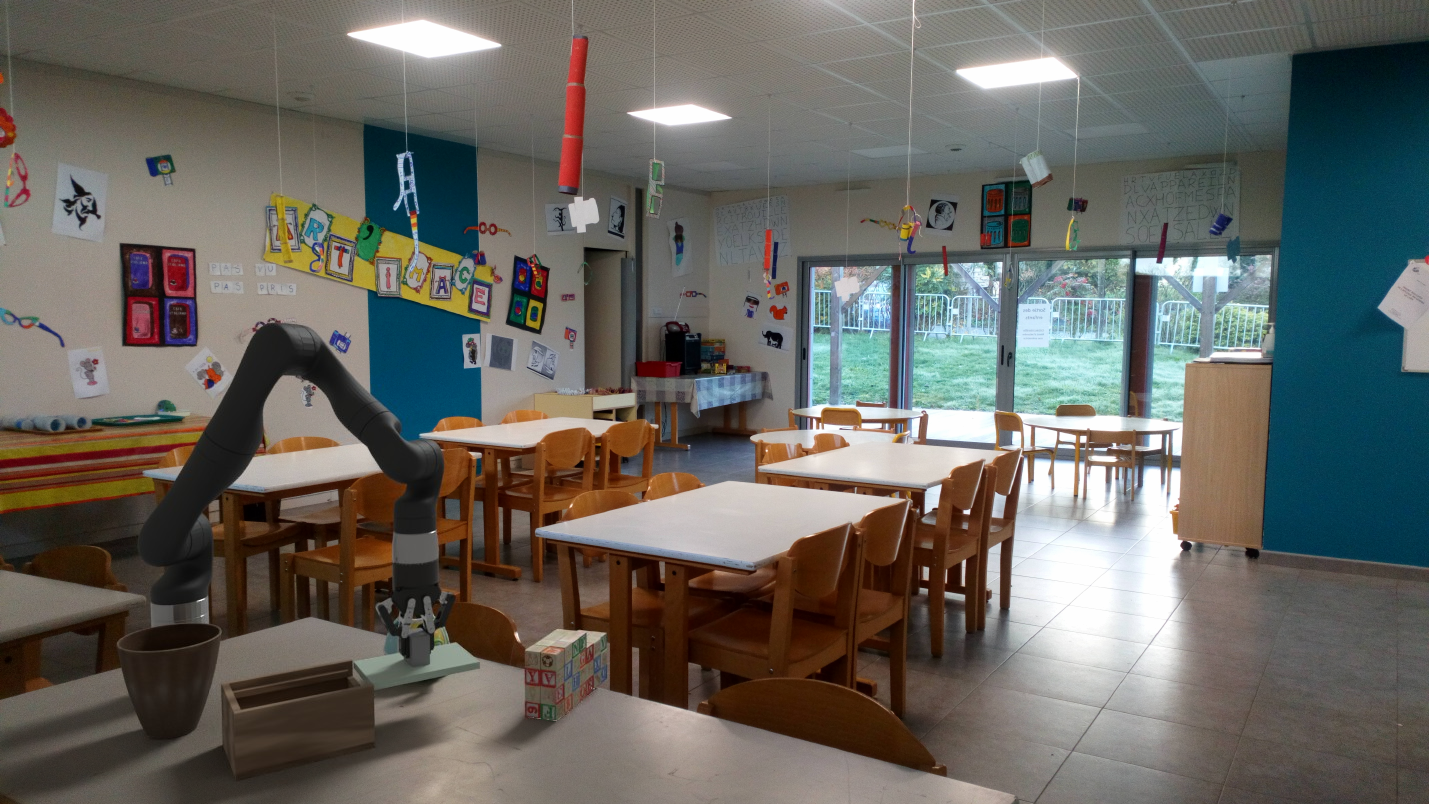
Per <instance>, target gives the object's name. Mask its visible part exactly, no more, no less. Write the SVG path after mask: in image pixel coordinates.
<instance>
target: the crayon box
mask: <svg viewBox="0 0 1429 804" xmlns="http://www.w3.org/2000/svg"><path fill="white" fill-rule="evenodd" d="M353 669H354V661H353V659H352V658H349V659H343V660H338V661H331V662H327V663H322V664H321V663H320V664H316V665H312V666H311V665H310V666H305V667H299V668H294V669H289V670H284V671H283V670H282V671H279V672H277V671H276V672H272V673H266V674H262V675H256V676H251V677H246V678H239V679H234V680H230V681H229V680H228V681H224V682H220V695H221V696H220V699H221V700H220V701H221V732H222V733H221V735H222V739H221V741H222V743H221V744H222V747H223V749H224V752H225V755H226V758H227V760H228V762H229V765H230V769H231V771H232V773H233V775H234V778H235V779H234V780H235V781H240V780H245V779H248V778H253V777H257V776H261V775H266V774H271V773H273V772H279V771H281V770H282V771H283V770H286V769H292V768H295V767H298V766H303V765H308V764H311V763H316V762H319V761H324V760H328V759H331V758H336V757H340V756H344V755H348V754H352V753H357V752H361V751H364V750H365V751H366V750H370V749H373V748H376V735H375V734H376V731H375V720H376V719H375V714H376V713H375V690H374V685H373V684H368V685H367V684H364V685H361V684H360V683H359V681H358V680H357V679H356V678H355V676H354V671H353Z"/></svg>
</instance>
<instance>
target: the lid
mask: <svg viewBox="0 0 1429 804" xmlns="http://www.w3.org/2000/svg"><path fill="white" fill-rule="evenodd" d="M408 637H410V658H407V659H405V658H404V657H403V656H402V655H401V654H400V653H396V654H390V655H385V654H384V655H380V656H375V657H370V658H365V659H358V660H354V661H353V669H354V671H356V673H357V674H358V676H359V677H361V679H362V681H364V683H365V685H368V684H373V685H374V691H378V690H382V689H387V688H391V687H397V686H402V685H405V684H411V683H417V682H420V681H424V680H431V679H436V678H440V677H445V676H450V675H455V674H459V673H465V672H470V671H474V670H479V669H481V661H480V660H478V659H477V658H476V657H475V656H473V655H472V653H470V652H469V651H467V650H466V648H463V647H462V645H460V644H459V643H458V642H456V641H455V642H450V644H444V645H439V646H434V649H433V650H431V654H430V635H429V634H427V633H426V632H425V631H424V630H423V629H422V628H416V629H410V630H409V635H408Z"/></svg>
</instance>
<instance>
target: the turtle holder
mask: <svg viewBox="0 0 1429 804" xmlns="http://www.w3.org/2000/svg"><path fill="white" fill-rule="evenodd" d="M433 617H434V619H435V617H436V615H434V613H433ZM434 619H433V620H434ZM393 623H394V625H395V626H396V627H398V624H399V616H397V618H396V619H395V620H394V621H393ZM416 628H422V629H423V630H424V631H425V629H424V626H423V620H422V617H421V615H416V616H415V618H412V623H411V625H410V629H416ZM410 629H409V630H410ZM450 643H451V642H450V638H449V635H448V633H447V630H446V627H445V626H444V627H443V628H439V629H437V630H436V631H435V632H434V646H439V645H444V644H450ZM396 653H400V652H399V637H398V636H392V635H391V634H390V633H389V632H388V631H387V634H386V637H385V642H384V646H383V654H384V656H385V655H390V654H396Z"/></svg>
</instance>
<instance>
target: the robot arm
mask: <svg viewBox="0 0 1429 804" xmlns="http://www.w3.org/2000/svg"><path fill="white" fill-rule="evenodd" d="M283 376H287V377H289V376H291V377H292V376H293V377H298V376H299V377H302V378H303V379H305V380H307V381H308V382H310V383H311V384H312V385H314V386H316V387H317V388H318V389H319V390H321V392H322V393H323V394H324V396H325V397H326V398H327V400H328V401H329V404H330V405H331V408H332V411H333V413H334V415H335V417H336V418H337V420H338V421H339V422H340V423H341V425H342V426H343V427H344V428H346V430H347V431H348V432H350V434H351V435H353V436H354V437H355V438H356V439H357V440H358V441H359V442H361V444H363V445H364V446H365V447H366V448H367V450H368V451H369V453H370V455H371V457H372V458H373V460H374V461H375V462H376V463H375V464H377V467H379V469H380V470H381V472H382V473H383V474H384V475H385V476H386V477H388V478H389V479H390V480H392V481H393V482H395V483H397V484H401V485H405V484H406V487H405V491H404V493H403V494H402V495H400V496H399V497H398V498H396V499H395V500H394V503H393V507H392V508H393V509H392V510H393V511H392V512H393V513H392V519H393V521H392V525H393V530H392V531H393V534H392V545H391V555H392V556H391V557H392V559H391V561H392V562H391V564H392V566H391V568H392V569H391V570H392V571H391V573H392V589H391V593H390V594H389V598H387V599H385V600H384V601H382V602H379V601H377V602H376V603H374V608H375V610H376V612H377V614H378V616H379V619H380V620H381V622H382V624H383V626H384V627H385V629H386V631H387V633H388V632H389V633H390V634H391V635H392V636H398V637H399V652H400V654H401V655H402V656H403V657H404V658H405V659H407V658H410V637H408V635H409V629H410V625H411V623H412V619H413V617H416V615H421V617H422V620H423V626H424V629H425V632H426V633H427V634H429V635H430V654H431V650H433V649H434V632H435V631H436V630H437V629H439V628H443V627H445V626H446V624H447V621H448V619H449V616H450V614H451V611H452V609H453V606H454V604H455V602H456V598H457V596H456V595H455V594H454V593H452V592H451V591H449V590H448V591H444V590H442V588H441V587H440V583H439V580H440V579H439V578H440V576H439V574H440V573H439V555H440V549H439V539H438V531H437V527H438V526H437V503H438V500H439V496H440V492H441V487H442V484H443V478H444V473H445V456H444V453H443V450H442V449H441V446H440V445H439V444H438V443H437V442H435V441H434V440H431V439H429V438H419V439H414V440H409V441H408V440H406V439H405V438H403V437H402V435H401V432H402V430H403V428H402V427H403V426H402V423H401V421H400V420H399V418H398V417H397V416H396V415H395V414H394V413H392V412H391V410H389V408H387V407H386V406H384V405H383V404H382V403H381V402H380V401H379V400H378V399H377V398H375V397H374V396H373V395H372V394H371V393H370V392H369V391H368V390H367V389H366V388H365V387H363V385H362V384H361V383H360V382H359V381H358V380H357V379H356V378H355V377H354V376H353V374H352V373H351V372H350V371H349V370H348V369H347V368H346V366H345V365H344V364H343V362H342V361H341V360H340V359H339V358H338V356H336V354H335V353H334V352H333V350H332V349H331V348H330V346H329V345H328V344H327V343H326V341H325V340H324V339H323V337H321V336H320V335H319V334H318V333H317V331H315V330H314V329H313V328H312V327H309V326H306V325H304V324H297V323H289V322H288V323H286V322H277V321H276V322H269V323H266V324H264V325H261V326H260V327H259V328H258V329H257V330H256V331H255V332H254V334H253V335H252V337H251V339H250V340H249V342H248V344H247V346H246V349H245V351H244V353H243V356H242V358H241V360H240V361H239V365H238V367H237V369H236V371H235V374H234V376H233V379H232V380H231V382H230V384H229V385H228V386H229V387H228V388H227V389H226V392H225V394H224V395H223V397H222V399H221V401H220V403H219V404H218V407H217V408H216V410H215V412H214V414H213V415H212V417H211V419H210V420H209V422H208V423H207V425H206V426H205V428H204V430H203V432H202V433H201V435H200V436H199V439H198V440H197V442H196V444H195V445H194V446H193V450H192V451H191V454H190V455H189V457H188V458H187V460H186V461H185V463H184V465H183V467H182V468H181V470H180V472H179V473H178V475H176V479H175V480H174V482H173V483H172V484H171V486H170V488H169V490H168V491H167V493H166V494H165V495H164V497H163V498H162V499H161V501H160V502H158V503H159V504H158V505H157V506H156V507H155V508H154V509H153V511H152V512H151V513H150V515H149V516H148V518H147V519H146V521H145V522H144V523H143V525H142V526H141V529H140V530H139V533H138V537H137V551H138V555H139V557H140V559H141V560H142V561H143V562H144V563H145V564H147V565H148V566H150V567H151V566H152V567H157V568H162V567H163V568H164V567H167V568H166V569H165V571H164V572H163V574H162V576H161V577H160V578H159V579H157V581H156V582H154V583H153V584H152V586H151V588H150V592H149V593H150V595H149V596H150V598H149V599H150V600H149V601H150V619H151V620H150V623H151V626H150V628H151V627H156V626H162V625H168V624H177V623H207V624H210V616H209V615H210V612H209V586H210V585H211V582H212V579H213V572H214V567H213V566H214V542H215V541H214V533H213V532H214V531H213V527H212V525H211V522H210V520H209V519H208V517H207V516H206V515H205V513H203V512H204V511H205V510H206V509H207V508H208V507H209V506H210V505H211V504H212V503H213V502H214V501H215V500H216V499H217V498H218V497H220V496H221V495H222V494H223V493H224V492H225V491H226V490H227V489H229V488H230V486H232V485H233V484H234V483H235V482H236V481H237V480H238V479H239V478H240V477H241V476H242V475H243V474H244V472H245V471H246V469H247V468H248V466H249V465H250V464H251V462H252V460H253V459H254V457H255V456H256V453H257V452H258V450H259V448H260V446H261V445H262V441H263V438H264V408H265V404H266V401H267V399H268V397H269V395H270V394H271V392H272V391H273V389H274V387H275V386H276V384H277V383H278V382H279V380H280V379H281V378H282V377H283ZM438 601H439V603H440V605H439V607H438V610H437V613H436V615H435V619H434V617H433V614H434V612H433V608H434V606H435V605H436V603H437V602H438ZM393 605H394V606H395V608H396V609H397V610H398V612H399V614H398V617H399V624H398V627H396V626H395V625H394V623H393V622H394V621H393V618H392V617H391V613H392V606H393ZM433 619H434V620H433Z"/></svg>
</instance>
